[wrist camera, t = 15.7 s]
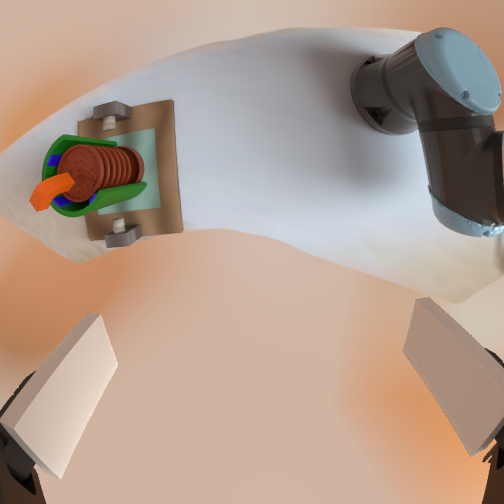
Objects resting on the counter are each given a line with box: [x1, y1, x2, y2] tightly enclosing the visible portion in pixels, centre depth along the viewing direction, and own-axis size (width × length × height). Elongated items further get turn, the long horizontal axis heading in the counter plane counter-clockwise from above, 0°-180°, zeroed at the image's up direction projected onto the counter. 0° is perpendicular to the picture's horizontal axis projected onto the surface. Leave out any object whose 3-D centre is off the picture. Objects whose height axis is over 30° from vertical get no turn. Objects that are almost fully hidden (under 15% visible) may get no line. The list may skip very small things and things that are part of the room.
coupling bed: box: [78, 99, 184, 248], centre depth 39 cm, size 18×22×8 cm
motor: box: [29, 135, 147, 217], centre depth 32 cm, size 10×9×20 cm
